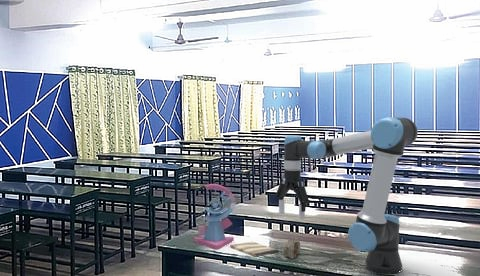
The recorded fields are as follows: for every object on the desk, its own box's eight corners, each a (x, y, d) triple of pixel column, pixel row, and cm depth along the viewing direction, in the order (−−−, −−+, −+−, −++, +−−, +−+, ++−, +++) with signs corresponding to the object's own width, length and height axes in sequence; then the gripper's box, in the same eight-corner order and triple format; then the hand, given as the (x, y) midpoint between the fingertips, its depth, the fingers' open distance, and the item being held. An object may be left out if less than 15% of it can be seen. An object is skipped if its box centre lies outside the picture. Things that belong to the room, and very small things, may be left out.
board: (278, 252, 237) (278, 250, 237) (255, 256, 230) (255, 254, 229) (252, 243, 254) (252, 241, 254) (229, 247, 246) (230, 244, 246)
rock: (287, 248, 240) (289, 230, 236) (301, 252, 237) (302, 233, 234) (279, 262, 229) (280, 244, 226) (292, 266, 227) (294, 247, 223)
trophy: (233, 240, 259) (234, 182, 257) (237, 249, 242) (238, 186, 241) (193, 241, 256) (194, 182, 255) (195, 250, 239) (196, 186, 238)
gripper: (317, 171, 222) (316, 220, 223) (280, 166, 242) (279, 210, 243) (305, 172, 218) (304, 221, 219) (268, 167, 238) (267, 212, 239)
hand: (291, 216), depth 231 cm, fingers open, 13 cm apart
